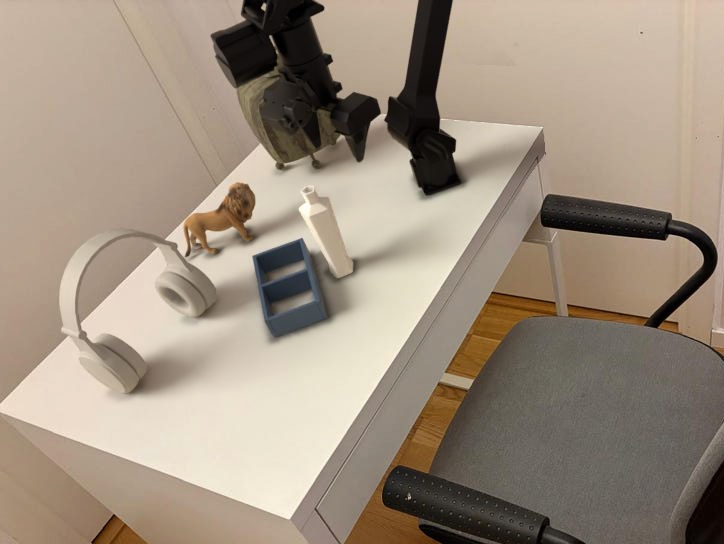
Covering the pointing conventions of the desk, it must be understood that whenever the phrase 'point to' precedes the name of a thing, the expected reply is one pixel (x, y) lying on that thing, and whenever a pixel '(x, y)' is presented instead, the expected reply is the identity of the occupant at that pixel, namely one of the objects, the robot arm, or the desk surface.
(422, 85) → the robot arm
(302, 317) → the box
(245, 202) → the lion figurine
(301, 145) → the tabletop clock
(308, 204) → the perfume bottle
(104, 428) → the desk surface
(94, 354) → the headphones
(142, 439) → the desk surface
